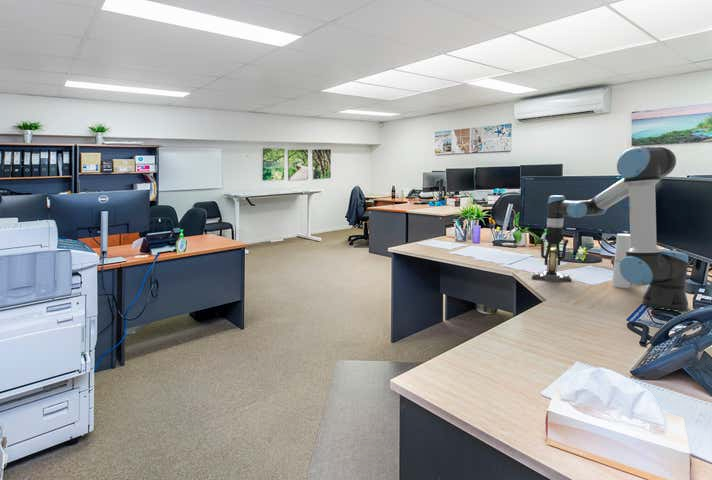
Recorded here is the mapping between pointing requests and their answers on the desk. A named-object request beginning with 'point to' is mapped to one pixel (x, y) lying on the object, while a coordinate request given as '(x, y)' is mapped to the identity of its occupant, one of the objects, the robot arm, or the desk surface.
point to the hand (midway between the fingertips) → (551, 271)
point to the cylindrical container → (620, 254)
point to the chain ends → (551, 276)
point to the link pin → (552, 261)
